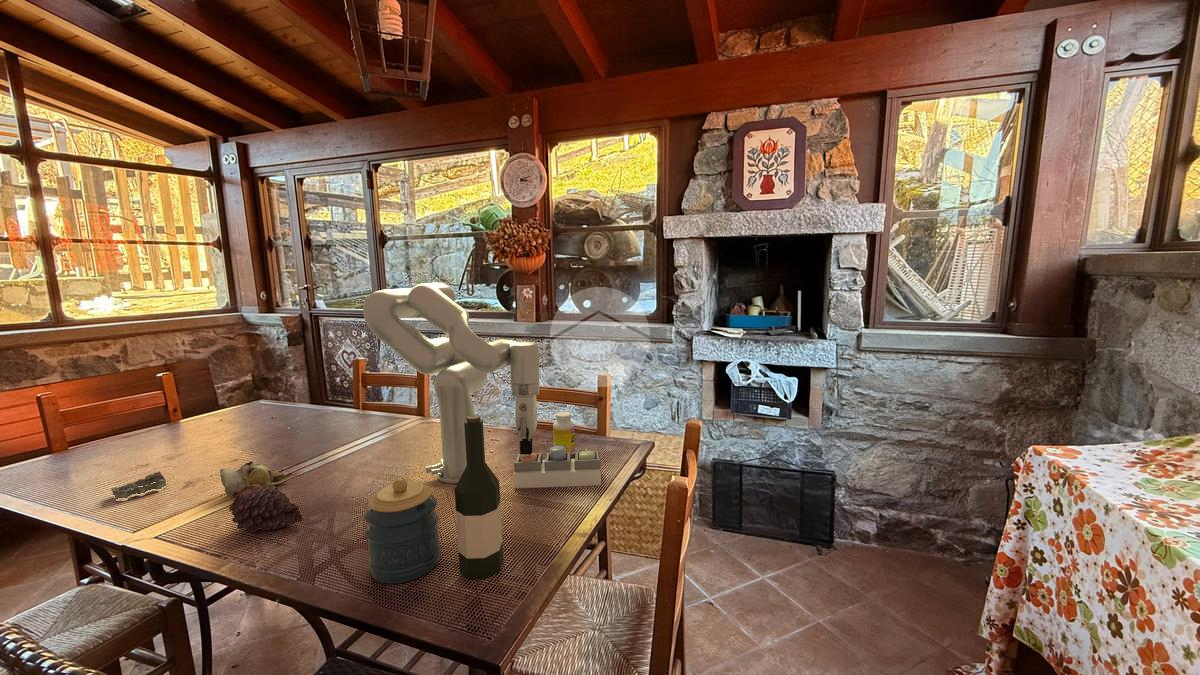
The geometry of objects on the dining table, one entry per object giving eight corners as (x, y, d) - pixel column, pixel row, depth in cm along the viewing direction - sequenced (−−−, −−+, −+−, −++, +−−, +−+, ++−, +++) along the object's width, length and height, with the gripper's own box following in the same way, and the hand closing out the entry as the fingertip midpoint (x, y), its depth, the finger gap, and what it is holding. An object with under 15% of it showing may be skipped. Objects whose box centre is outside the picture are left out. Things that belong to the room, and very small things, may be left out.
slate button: (549, 462, 127) (549, 452, 126) (550, 456, 131) (550, 446, 131) (565, 462, 127) (565, 451, 126) (566, 456, 131) (566, 445, 131)
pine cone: (319, 513, 113) (309, 490, 107) (288, 552, 106) (276, 530, 99) (252, 492, 115) (239, 468, 109) (218, 529, 107) (201, 505, 101)
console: (514, 488, 125) (513, 465, 124) (518, 474, 134) (517, 452, 133) (601, 485, 126) (600, 461, 125) (599, 471, 134) (599, 449, 134)
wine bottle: (457, 560, 94) (447, 414, 90) (499, 549, 97) (491, 408, 93) (462, 584, 86) (452, 426, 82) (507, 572, 89) (500, 419, 85)
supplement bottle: (574, 457, 145) (573, 417, 144) (552, 457, 145) (551, 417, 144) (575, 449, 152) (574, 410, 150) (555, 449, 152) (554, 411, 150)
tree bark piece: (164, 483, 133) (162, 470, 132) (168, 490, 128) (166, 476, 128) (111, 496, 125) (109, 482, 125) (114, 504, 120) (112, 490, 120)
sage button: (579, 467, 127) (579, 457, 127) (579, 461, 131) (579, 451, 131) (595, 467, 127) (595, 456, 127) (595, 460, 132) (594, 450, 131)
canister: (401, 541, 101) (395, 462, 98) (454, 550, 97) (448, 468, 94) (353, 579, 88) (345, 490, 86) (411, 591, 84) (404, 498, 82)
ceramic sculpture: (230, 455, 128) (292, 453, 132) (232, 485, 130) (293, 482, 133) (208, 471, 118) (275, 468, 122) (210, 504, 119) (277, 500, 123)
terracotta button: (519, 469, 126) (519, 459, 126) (521, 463, 131) (521, 452, 130) (536, 469, 127) (535, 458, 126) (537, 462, 131) (537, 452, 131)
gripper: (536, 395, 119) (537, 464, 121) (541, 381, 133) (542, 443, 136) (506, 395, 118) (508, 464, 121) (514, 381, 133) (516, 443, 136)
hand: (526, 453), depth 128 cm, fingers closed
